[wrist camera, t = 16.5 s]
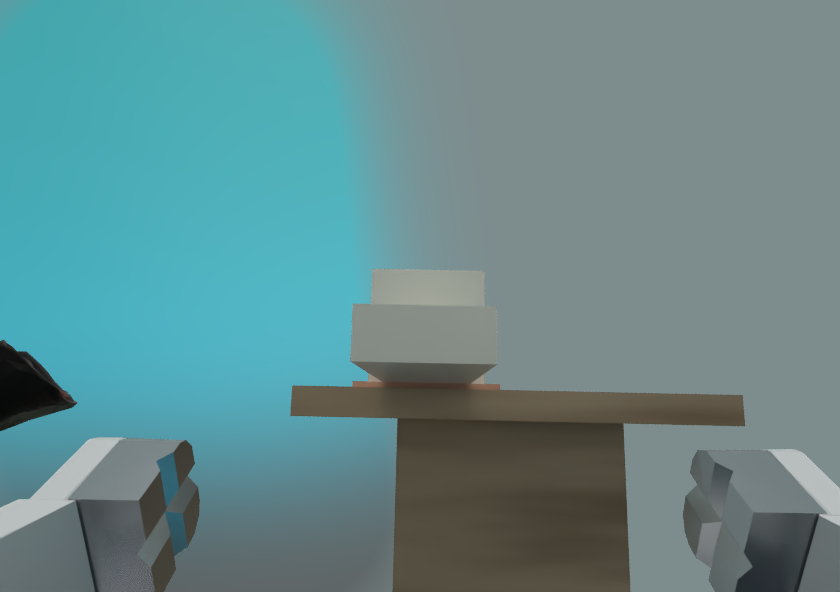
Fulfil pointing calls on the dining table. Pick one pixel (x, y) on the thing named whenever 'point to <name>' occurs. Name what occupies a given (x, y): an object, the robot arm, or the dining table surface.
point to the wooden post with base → (511, 479)
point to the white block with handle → (425, 328)
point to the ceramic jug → (27, 389)
